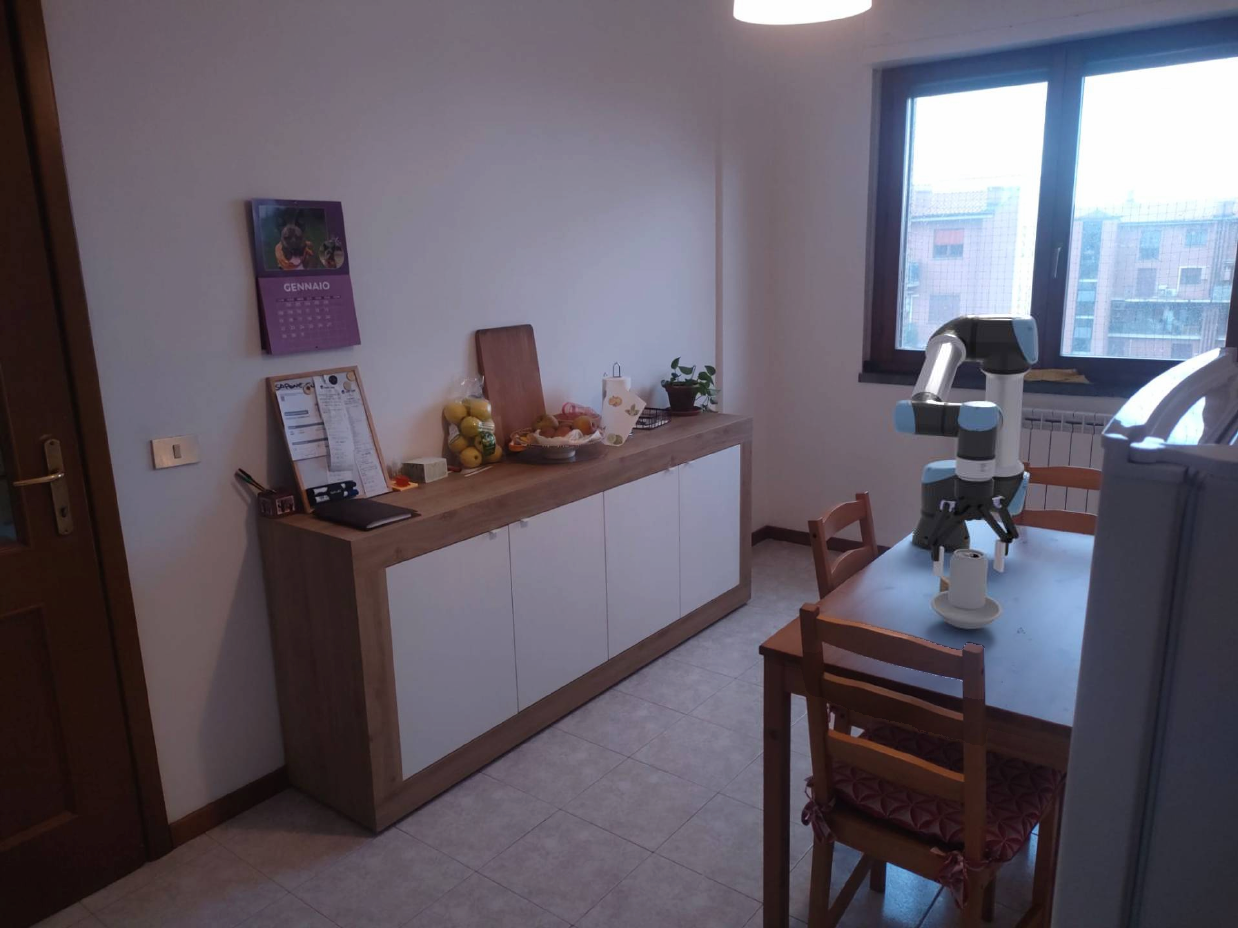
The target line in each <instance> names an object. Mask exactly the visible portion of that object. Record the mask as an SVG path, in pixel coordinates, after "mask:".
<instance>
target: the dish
mask: <svg viewBox="0 0 1238 928" xmlns="http://www.w3.org/2000/svg"><path fill="white" fill-rule="evenodd" d="M930 606H931V608H932V610H934V611H935V612H936V613H937V614H938V615H939V617H940V618H941V619H942V620H944V621H945V622H946V623H947V624H949V625H951V626H952V627H956V628H959V629H965V630H977V629H981V628H984V627H986V626H988V625H990V624H991V623H992V622H994V621H995V620H997V619H999V618H1000V617H1001V616H1002V614H1003V606H1002V605H1001V603H1000V602H998V601H997V600H996V599H994V598H993V597H990V596H988V595H986V598H985V605H984V606H983V607H981V608H980V609H979V610H975V611H966V610H960V609H957V608H955V607H953V606H952V605H951V604H950V603H949V601H948V591H945V592H941V593H940V592H939V593H937V594H935V595H933V597H932V598H931V600H930Z"/></svg>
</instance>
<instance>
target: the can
mask: <svg viewBox="0 0 1238 928" xmlns="http://www.w3.org/2000/svg"><path fill="white" fill-rule="evenodd" d="M949 560H950V561H949V576H948V577H949V589H948V601H949V603H950V604H951V605H952V606H953V607H955V608H957V609H960V610H966V611H975V610H979V609H980V608H981V607H983V606H984V605H985V598H986V596H987V580H988V569H989V561H988V559H987V558H986V554H985V553H984V552H983V551H980V550H977V549H971V548H968V549H958V550H956V551H954V552H953V555H952V556H951V557H950V559H949Z"/></svg>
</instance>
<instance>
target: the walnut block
mask: <svg viewBox="0 0 1238 928" xmlns="http://www.w3.org/2000/svg"><path fill="white" fill-rule="evenodd" d="M939 579H940V580H939V593H941V592H945V591H948V589H949V576H943V577H939Z"/></svg>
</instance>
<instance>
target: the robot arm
mask: <svg viewBox="0 0 1238 928" xmlns="http://www.w3.org/2000/svg"><path fill="white" fill-rule="evenodd" d="M924 351H925V352H924V353H925V360H924V363H923V365H922V367H921V371H920V374H919V375H918V378H917V381H916V383H915V386H914V389H913V392H912V394H911V396H910V399H904V400H903V399H902V400H899V401H897V402H896V404H895V408H894V413H893V428H894V430H895V431H896V433H898V434H905V435H911V436H930V437H946V438H957V444H956V447H957V449H956V459H947V460H946V459H945V460H939V461H934V462H933V461H932V462H930V463H928V464H926V465H925V466H924V468H923V469H922V470H923V471H922V477H921V480H920V482H921V495H920V496H921V497H920V509H919V510H920V512H919V514H920V515H919V518H918V520H917V522H916V524H915V527H914V529H913V531H912V539H911V541H912V544H914V545H915V546H916V547H919V548H921V549H924V550H927V551H930V559H931V560H932V561H933V572H932V573H933V574H935V576H937V577H938V578H940V577H944V576H943V575H944V562H945V561H944V558H945V553H954V551H956V550H958V549H970V547H971V536H970V532H969V528H968V524H967V522H972V521H974V520H975V521H981V520H982V519H983V520H984V521H985V522H986V523H987V524H988V526H989V527H990V529H992V531H993V532H994V533H995V535H997V536H998V538H995V541H994V543H995V544H994V556H993V558H994V559H993V567H992V568H993V569H995V570H996V571H998V572H999V573H1004V569H1005V567H1004V566H1005V559H1006V557H1007V556H1008V555H1009V547H1010V544H1012V543H1013V541H1014V539H1015V540H1017V539H1019V537H1020V535H1019V532H1018V530H1017V528H1016V525H1015V523H1014V520H1013V517H1012V516H1013V515H1014V516H1015V515H1018V514H1020V513H1021V512H1022V510H1023V508H1024V503H1025V498H1026V493H1027V490H1028V485H1029V480H1030V477H1031V475H1030V473H1029V472H1027V470H1026V471H1025V466H1024V464H1023V463H1022V462H1021V461H1020V460H1019V458H1020V457H1019V456H1020V455H1019V454H1020V453H1019V452H1020V441H1021V439H1020V437H1021V423H1022V407H1023V406H1022V405H1023V392H1024V391H1023V390H1024V376H1025V375H1026V374H1027V373H1028V372H1030V371H1031V370H1032V365H1034V364H1036V363H1037V362H1038V361H1039V360H1038V359H1039V335H1038V326H1037V322H1036V319H1035V318H1034V317H1033V316H1031V315H1025V314H1024V315H1022V314H1015V313H1014V314H965V315H961V316H958V317H955V318H953V319H951V320H948V321H947V322H945V323H944V324H942V325H941V326H940V327H939V328H937V329H936V330H935V331H934V332H933V334H932V335H931V336H930V337H929V339H928V341H927V344H926V346H925V350H924ZM963 362H973V363H974V362H977V363H980V365H979V368H980V371H981V372H982V373H983V374H985V375H986V376H985V377H986V378H985V400H983V401H981V400H977V401H974V400H973V401H966V402H949V401H948V402H947V400H948V397H949V394H950V390H951V388H952V384H953V381H954V378H955V376H956V373H957V369H958V367H959V366H960V365H962V364H963ZM993 514H998V516H999V517H1000V520H1001V523H1002V525H1003V527H1004V528H1003V527H1002V526H1001V525H1000V524H999V522H998V521H997V520H996V519H995V516H993ZM913 534H914V535H913Z"/></svg>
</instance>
